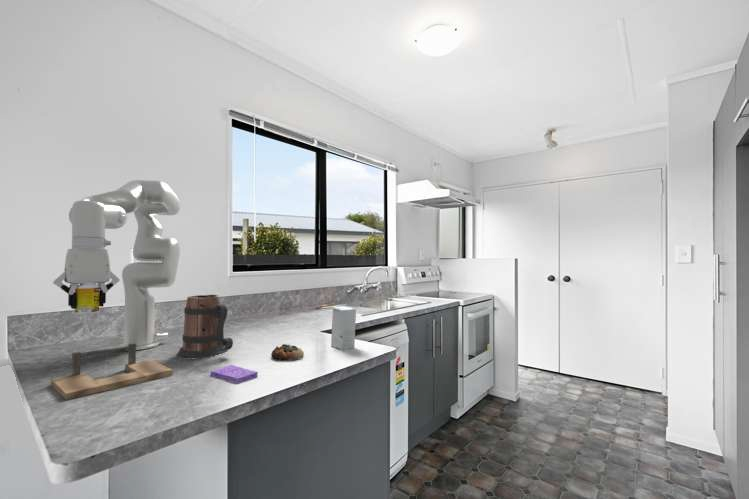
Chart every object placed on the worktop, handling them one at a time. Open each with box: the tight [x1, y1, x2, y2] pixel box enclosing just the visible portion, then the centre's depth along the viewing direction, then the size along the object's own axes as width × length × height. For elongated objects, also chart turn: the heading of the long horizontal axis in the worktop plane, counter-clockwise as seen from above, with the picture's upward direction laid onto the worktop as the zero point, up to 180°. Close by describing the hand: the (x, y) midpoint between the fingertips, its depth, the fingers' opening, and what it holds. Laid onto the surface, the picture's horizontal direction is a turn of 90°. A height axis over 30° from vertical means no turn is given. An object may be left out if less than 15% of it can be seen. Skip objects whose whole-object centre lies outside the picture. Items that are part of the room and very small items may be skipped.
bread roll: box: [271, 343, 304, 362], centre depth 126 cm, size 11×11×5 cm
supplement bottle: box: [74, 283, 100, 316], centre depth 106 cm, size 6×6×10 cm
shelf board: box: [50, 343, 174, 401], centre depth 102 cm, size 24×17×8 cm
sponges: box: [210, 364, 259, 384], centre depth 106 cm, size 7×13×2 cm, turn 56°
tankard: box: [175, 294, 234, 360], centre depth 130 cm, size 24×17×20 cm
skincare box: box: [330, 305, 357, 351], centre depth 139 cm, size 8×6×15 cm
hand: (87, 306), depth 106 cm, fingers closed on supplement bottle, 5 cm apart
